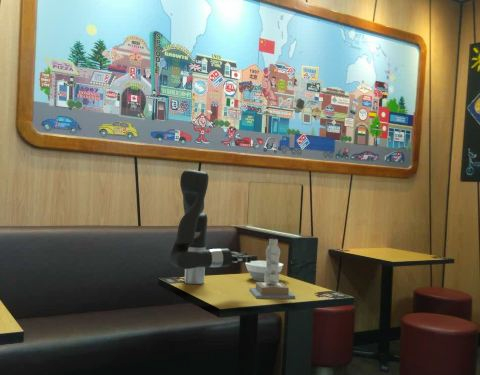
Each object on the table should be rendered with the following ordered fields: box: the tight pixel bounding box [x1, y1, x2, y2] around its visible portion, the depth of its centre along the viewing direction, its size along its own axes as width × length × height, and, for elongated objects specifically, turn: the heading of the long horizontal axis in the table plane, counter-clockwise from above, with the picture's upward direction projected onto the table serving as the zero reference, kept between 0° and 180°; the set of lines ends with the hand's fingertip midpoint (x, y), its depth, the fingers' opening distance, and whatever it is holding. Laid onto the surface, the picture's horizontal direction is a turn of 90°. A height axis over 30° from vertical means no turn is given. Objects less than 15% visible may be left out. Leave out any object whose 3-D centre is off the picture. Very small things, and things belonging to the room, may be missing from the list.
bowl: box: [245, 260, 284, 282], centre depth 259 cm, size 20×19×8 cm
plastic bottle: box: [263, 238, 281, 285], centre depth 224 cm, size 6×7×20 cm
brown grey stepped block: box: [248, 281, 296, 300], centre depth 224 cm, size 17×16×4 cm
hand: (251, 256), depth 219 cm, fingers open, 8 cm apart
